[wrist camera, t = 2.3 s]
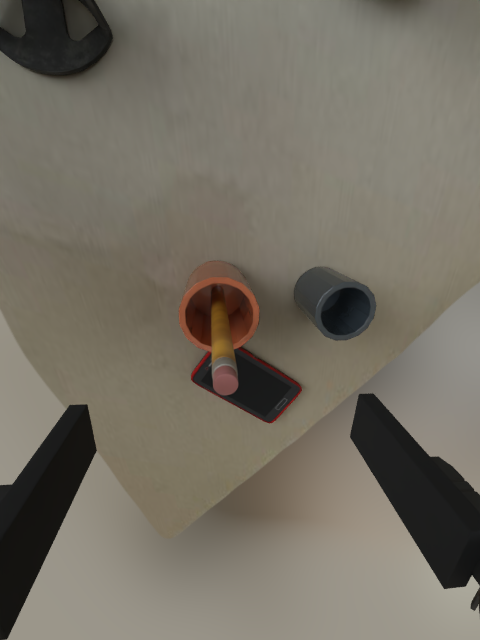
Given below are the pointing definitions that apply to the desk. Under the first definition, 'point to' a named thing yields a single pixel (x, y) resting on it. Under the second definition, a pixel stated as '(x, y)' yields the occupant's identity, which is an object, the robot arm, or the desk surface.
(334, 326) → the tumbler
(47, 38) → the holder
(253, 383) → the cell phone
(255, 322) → the pencil cup
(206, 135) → the desk surface
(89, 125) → the desk surface
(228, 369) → the pencil
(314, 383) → the desk surface
